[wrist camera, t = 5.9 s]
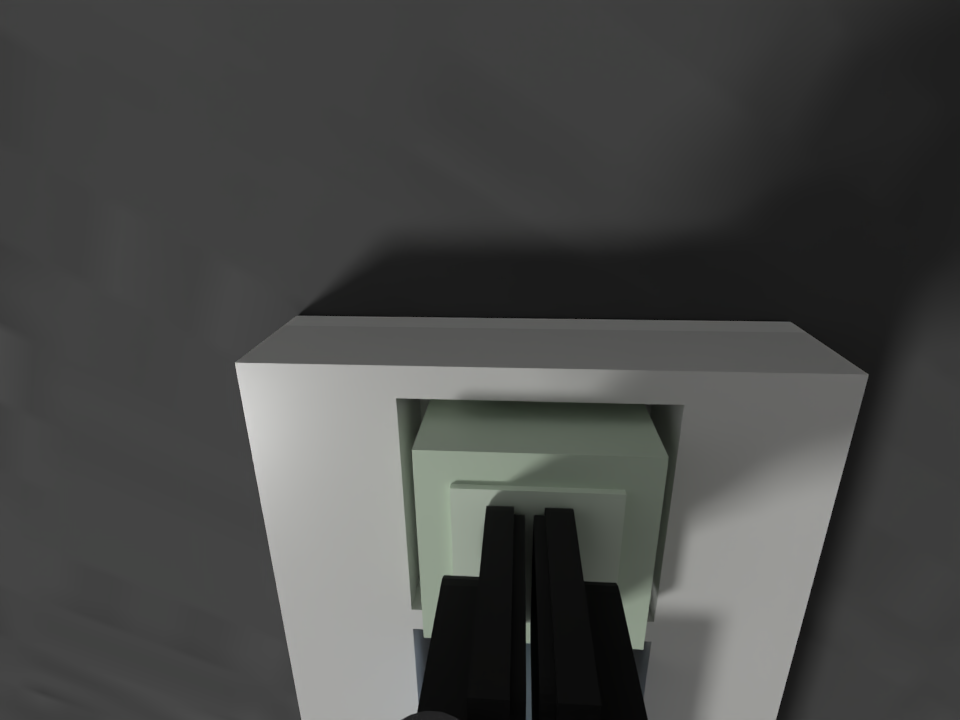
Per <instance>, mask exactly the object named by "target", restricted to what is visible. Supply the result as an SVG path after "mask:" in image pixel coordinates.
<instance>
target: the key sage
mask: <svg viewBox="0 0 960 720" xmlns="http://www.w3.org/2000/svg"><path fill="white" fill-rule="evenodd" d="M668 460H669V457H668V455H667V452H666V450H665V448H664V446H663V444H662V442H661V439H660V437H659V435H658V433H657V431H656V428H655V426H654V424H653V422H652V420H651V417H650V415H649V413H648V411H647V409H646V407H645V404H621V403H578V402H535V401H492V400H449V399H430V401H429V404H428V407H427V410H426V412H425V415H424V418H423V420H422V423H421V426H420V429H419V431H418V434H417V437H416V440H415V442H414V445H413V448H412V462H413V478H414V494H415V509H416V525H417V540H418V556H419V571H420V587H421V603H422V618H423V634H424V638H431V635H432V629H433V624H434V618H435V613H436V608H437V602H438V597H439V591H440V586H441V582H442V578H443V576H444V575H452V576H475V577H479V573H480V563H481V553H482V543H483V533H484V523H485V513H486V506H514V514H522V515H525V581H526V643H530V620H531V587H532V554H533V521H534V515H544V511H545V508H571V509H573V510H574V515H575V522H576V529H577V536H578V543H579V550H580V557H581V564H582V571H583V579H584V581H589V582H611V583H617V585H618V587H619V591H620V594H621V599H622V604H623V608H624V613H625V617H626V622H627V626H628V631H629V636H630V640H631V645H632V649H640V650H643V649H644V641H645V633H646V626H647V618H648V611H649V603H650V596H651V588H652V581H653V573H654V566H655V558H656V551H657V543H658V536H659V528H660V521H661V513H662V506H663V498H664V491H665V483H666V475H667V468H668Z"/></svg>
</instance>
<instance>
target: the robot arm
mask: <svg viewBox="0 0 960 720" xmlns="http://www.w3.org/2000/svg"><path fill="white" fill-rule="evenodd" d="M530 649H531V709H532V720H648V718H647V713H646V709H645V704H644V699H643V695H642V690H641V686H640V681H639V677H638V672H637V667H636V663H635V658H634V654H633V649H632V645H631V640H630V636H629V631H628V626H627V622H626V617H625V613H624V608H623V604H622V599H621V594H620V591H619V587H618V585H617V583H611V582H589V581H584V579H583V571H582V564H581V557H580V550H579V543H578V536H577V529H576V522H575V515H574V510H573V509H571V508H545V511H544V515H534V521H533V554H532V587H531V620H530ZM402 720H526V581H525V515H522V514H514V506H486V513H485V523H484V533H483V543H482V553H481V563H480V573H479V577H475V576H452V575H444V576H443V578H442V582H441V586H440V591H439V597H438V602H437V608H436V613H435V618H434V624H433V629H432V635H431V640H430V645H429V651H428V656H427V662H426V667H425V672H424V678H423V683H422V689H421V694H420V699H419V705H418V710H417V713H415V714H411V715H409V716H407V717H405V718H404V719H402Z"/></svg>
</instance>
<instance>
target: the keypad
mask: <svg viewBox="0 0 960 720" xmlns="http://www.w3.org/2000/svg"><path fill="white" fill-rule="evenodd" d="M235 366H236V371H237V377H238V382H239V387H240V393H241V398H242V403H243V409H244V414H245V420H246V425H247V430H248V436H249V441H250V446H251V452H252V457H253V462H254V468H255V473H256V478H257V484H258V489H259V494H260V500H261V505H262V511H263V516H264V521H265V527H266V532H267V537H268V543H269V548H270V553H271V559H272V564H273V569H274V575H275V580H276V586H277V591H278V596H279V602H280V607H281V612H282V618H283V623H284V628H285V634H286V639H287V644H288V650H289V655H290V661H291V666H292V671H293V677H294V682H295V687H296V693H297V698H298V703H299V709H300V714H301V719H302V720H402V719H404V718H405V717H407V716H409V715H411V714H415V713H417V710H418V705H419V699H420V694H421V689H422V683H423V678H424V672H425V667H426V662H427V656H428V651H429V645H430V640H431V638H424V634H423V618H422V603H421V587H420V571H419V556H418V540H417V525H416V509H415V494H414V478H413V462H412V448H413V445H414V442H415V440H416V437H417V434H418V431H419V429H420V426H421V423H422V420H423V418H424V415H425V412H426V410H427V407H428V404H429V401H430V399H449V400H492V401H535V402H578V403H621V404H645V407H646V409H647V411H648V413H649V415H650V417H651V420H652V422H653V424H654V426H655V428H656V431H657V433H658V435H659V437H660V439H661V442H662V444H663V446H664V448H665V450H666V452H667V455H668V457H669V460H668V468H667V475H666V483H665V491H664V498H663V506H662V513H661V521H660V528H659V536H658V543H657V551H656V558H655V566H654V573H653V581H652V588H651V596H650V603H649V611H648V618H647V626H646V633H645V641H644V649H643V650H640V649H633V654H634V658H635V663H636V667H637V672H638V677H639V681H640V686H641V690H642V695H643V699H644V704H645V709H646V713H647V718H648V720H776V718H777V714H778V710H779V707H780V703H781V699H782V695H783V692H784V688H785V684H786V681H787V677H788V673H789V669H790V666H791V662H792V658H793V655H794V651H795V647H796V643H797V640H798V636H799V632H800V629H801V625H802V621H803V617H804V614H805V610H806V606H807V603H808V599H809V595H810V591H811V588H812V584H813V580H814V577H815V573H816V569H817V565H818V562H819V558H820V554H821V551H822V547H823V543H824V539H825V536H826V532H827V528H828V525H829V521H830V517H831V513H832V510H833V506H834V502H835V499H836V495H837V491H838V487H839V484H840V480H841V476H842V473H843V469H844V465H845V461H846V458H847V454H848V450H849V447H850V443H851V439H852V435H853V432H854V428H855V424H856V421H857V417H858V413H859V409H860V406H861V402H862V398H863V395H864V391H865V387H866V383H867V380H868V376H869V374H867V373H866V372H864V371H863V370H861V369H860V368H858V367H857V366H855V365H854V364H852V363H851V362H849V361H848V360H846V359H845V358H844V357H842V356H841V355H839V354H838V353H836V352H835V351H833V350H832V349H830V348H829V347H827V346H826V345H824V344H823V343H821V342H820V341H818V340H817V339H815V338H814V337H812V336H811V335H809V334H808V333H807V332H805V331H804V330H802V329H801V328H799V327H798V326H796V325H795V324H793V323H792V322H774V321H692V320H611V319H529V318H447V317H365V316H296V317H294V318H293V319H292V320H290V321H289V322H288V323H286V324H285V325H284V326H282V327H281V328H280V329H278V330H277V331H276V332H275V333H273V334H272V335H271V336H269V337H268V338H267V339H265V340H264V341H263V342H261V343H260V344H259V345H257V346H256V347H255V348H254V349H252V350H251V351H250V352H248V353H247V354H246V355H244V356H243V357H242V358H240V359H239V360H238V361H236V362H235Z"/></svg>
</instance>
